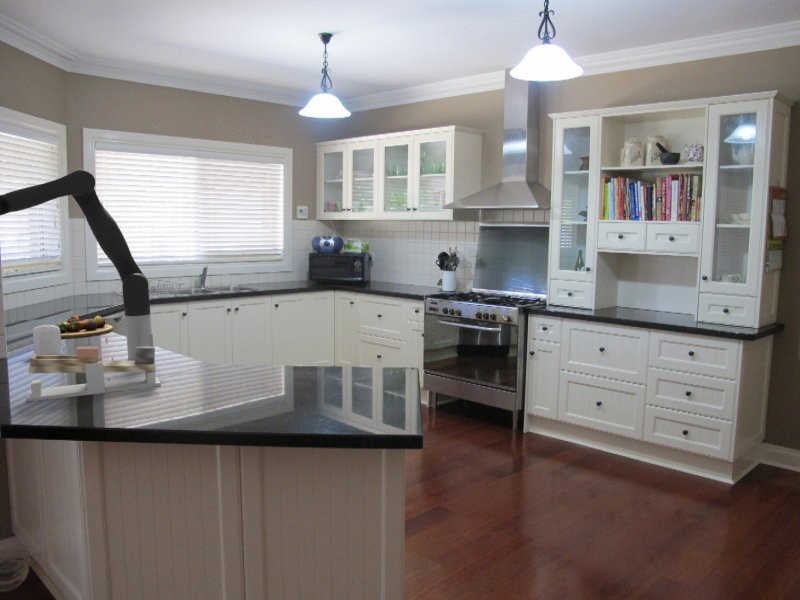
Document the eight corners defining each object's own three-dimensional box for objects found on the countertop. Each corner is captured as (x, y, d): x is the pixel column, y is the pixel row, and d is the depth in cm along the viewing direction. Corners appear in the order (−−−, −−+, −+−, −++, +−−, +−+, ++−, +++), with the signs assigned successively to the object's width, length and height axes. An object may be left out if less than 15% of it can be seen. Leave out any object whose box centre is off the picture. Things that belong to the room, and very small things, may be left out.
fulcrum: (156, 378, 227) (154, 350, 226) (160, 385, 217) (158, 357, 215) (29, 393, 211) (26, 363, 210) (26, 402, 200) (23, 371, 199)
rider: (97, 361, 216) (97, 346, 215) (97, 364, 211) (98, 349, 211) (76, 362, 213) (76, 346, 213) (76, 364, 208) (76, 349, 208)
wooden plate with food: (48, 331, 338) (46, 314, 337) (116, 326, 347) (115, 310, 346) (34, 341, 307) (32, 324, 306) (109, 336, 317) (108, 319, 316)
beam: (152, 366, 225) (153, 345, 224) (155, 371, 217) (156, 350, 216) (30, 367, 209) (30, 345, 209) (28, 373, 201) (29, 350, 201)
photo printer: (63, 353, 275) (61, 323, 274) (60, 355, 271) (57, 325, 270) (37, 354, 274) (34, 324, 273) (32, 356, 270) (30, 326, 268)
